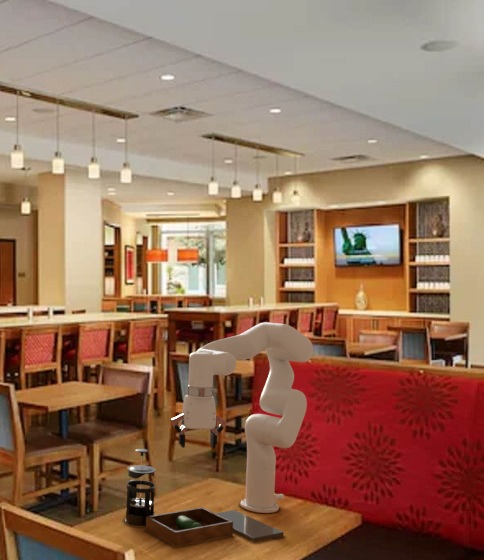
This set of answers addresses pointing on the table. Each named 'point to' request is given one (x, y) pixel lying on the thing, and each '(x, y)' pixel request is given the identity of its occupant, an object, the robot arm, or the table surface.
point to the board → (250, 527)
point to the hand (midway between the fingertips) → (197, 446)
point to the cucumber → (186, 523)
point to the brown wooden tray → (175, 536)
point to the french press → (140, 506)
